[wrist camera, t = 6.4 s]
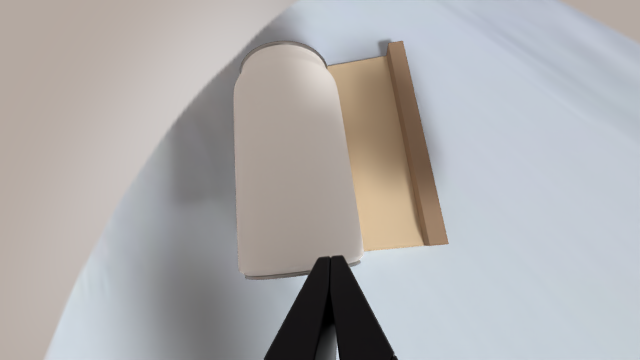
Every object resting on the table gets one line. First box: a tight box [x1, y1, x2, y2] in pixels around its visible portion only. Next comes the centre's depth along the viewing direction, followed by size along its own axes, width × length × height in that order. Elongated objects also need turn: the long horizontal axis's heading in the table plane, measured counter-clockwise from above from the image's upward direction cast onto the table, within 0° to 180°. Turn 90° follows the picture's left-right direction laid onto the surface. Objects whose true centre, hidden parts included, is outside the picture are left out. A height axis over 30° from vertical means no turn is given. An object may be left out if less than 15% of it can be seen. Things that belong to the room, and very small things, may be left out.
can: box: [233, 41, 364, 280], centre depth 14 cm, size 6×6×12 cm
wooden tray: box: [327, 41, 449, 251], centre depth 17 cm, size 14×12×2 cm
